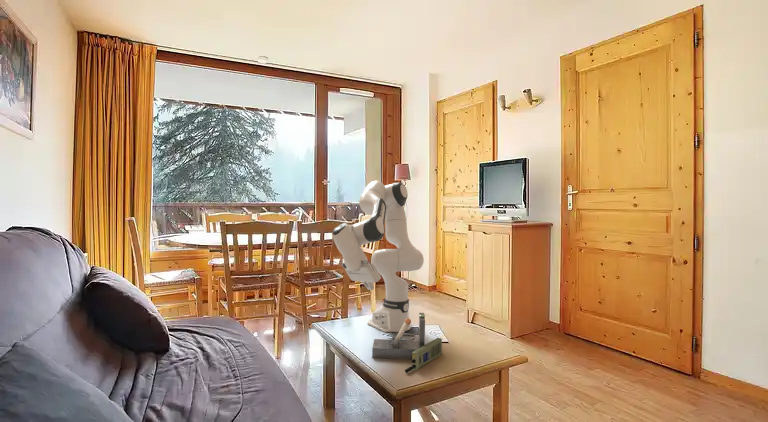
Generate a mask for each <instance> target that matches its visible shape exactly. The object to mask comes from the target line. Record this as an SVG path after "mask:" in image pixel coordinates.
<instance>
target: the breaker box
mask: <svg viewBox="0 0 768 422" xmlns="http://www.w3.org/2000/svg"><path fill="white" fill-rule="evenodd" d="M396 337H397V335H396V336H395V335H392V337H391V339H389V338H388V339H385V338H384V339H383V338H382V339H381V338H374V339H373V342H372V343H373V344H372V347H371V348H372V351H371V352H372V353H371V355H372V357H371V359H372V358H373V359H393V360H395V359H396V360H397V359H399V360H412V352H413V351H415V350H417V349H418V348H420V347H422V346H424V345H425V344H426V342H425V341H426V314H425V312H419V313H418V339H417V340H415V339H400V341H399V343H398V340H395V338H396Z"/></svg>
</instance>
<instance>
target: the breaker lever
mask: <svg viewBox="0 0 768 422" xmlns="http://www.w3.org/2000/svg"><path fill="white" fill-rule="evenodd" d="M409 324H410V325H411V324H412V319H411V318H410V317H409V318H407V319H405V323H404V324H403V326H402V328H401V330H400V331H399V332H397V334H396V336H397V337H396V338H395V340H398V343H399V341H400V340H402V338H403V336H404V334H405V332H406V331H407V330H406V329H407V327H408V325H409Z"/></svg>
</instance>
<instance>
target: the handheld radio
mask: <svg viewBox="0 0 768 422" xmlns="http://www.w3.org/2000/svg"><path fill="white" fill-rule="evenodd" d="M442 341H443V339H442V338H441V337H435V338H434V339H433V340H431V341H429V342H427V343H425V345H424V346H422V347H420V348H418V349H417V350H415V351H413V352H412V359H411V363H412V365H411V366H410V367H406V368H405V369H404V372H405V373H406V374H407V373H409V372H411V371H417V370H419V369H420V368H422V367H424V366H425V365H426V364H428V363H430V362H431V361H433V360H435V359H436V358H438V357H439V356H441V355H442V353H443V342H442Z"/></svg>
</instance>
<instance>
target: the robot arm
mask: <svg viewBox="0 0 768 422" xmlns="http://www.w3.org/2000/svg"><path fill="white" fill-rule="evenodd" d="M407 199H408V189H407V187H406V185H405V184H404V183H402V182H393V183H391V184H386V185H385V184H384V183H383V182H381V181H379V180H373V181H371V182H369V183H368V184H367V185H366V186H365V188H364V190H363V191H362V193H361V195H360V197H359V200H358V203H359V204H358V205H359V207H360V208H359V209H360V210H361V211H362V212H364V214H366V215H368V216H370V217H369V218H367V219H365V220H362V221H359V222H356V223H353V224H348V223H346V222H344V223H341V224H339V225H337V226H336V227H334V228H333V230H332V231H331V236H332V239H333V242H334V244H335V246H336V248H337V251H338V252H339V253H340V254H341V255H342V256H341V257H342V260H343V261H344V262H342V263H341V267H342V268H343V269H344V271H345V272H346V274H347V276H348V277H349V279H350V281H353V282H361V283H362V284H363V285H364V286H365V287H366V289H367V290H368V291H373V290H374V289H375V287H374V284H376V283H378V281H380V280H381V279H383V281H384V286H385V298H383V299H381V302H382V305H381V306H380V307H378V308H377V309H375V310H374V311H373V313H372V317H371V319H369V320H368V321H367V325H369V326H370V327H373V328H375V329H377V330H379V331H382V332H384V333H390V332H392V333H393V332H394V333H399V331H400V330H401V328H402V326H403V324H404V323H405V319H407V318H409V319H410V313H409V308H410V307H409V306H410V299H409V284H408V282H407V281H406V280H405V279H403V278H402V277H399V276H398V275H397V272H414V271H419V270H420V269H421V268H423V265H424V262H425V261H424V260H425V259H424V255H423V253H422V252H421V251H420V250H419V249H417V248H416V247H415V246H414V245H413V244H412V242H411V241H410V238H409V234H408V226H407V224H408V223H407V216H406V215H407V214H406V211H405V208H404V206H405V204H406V201H407ZM384 236H385V240H386V241H387V242H389V244H392V245H394V246H395V247H396V248H382V249H376V250H374V252H373V253H372V255H371V258H370V262H369V259H368V258H367V255H366V253H365V252H364V250H363V248H362V247H361V246H364V245H367V244H369V243H374V242H375V243H376V242H378V241H381V240H382V239H383V238H384ZM411 328H412V325H411V323H410V324H409V325H408V327H407V329H406V331H409V330H410V329H411Z"/></svg>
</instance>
